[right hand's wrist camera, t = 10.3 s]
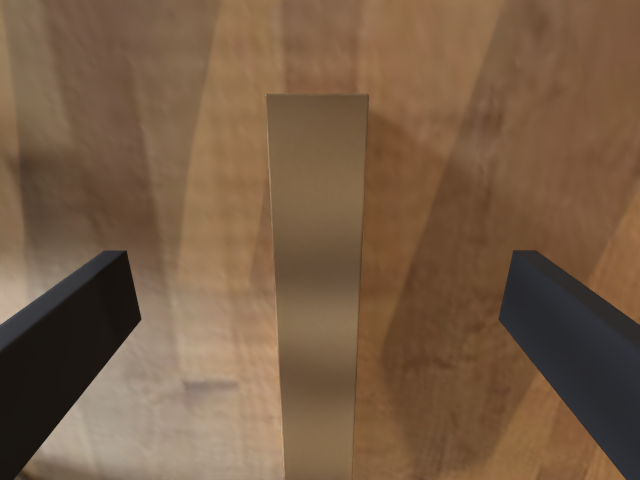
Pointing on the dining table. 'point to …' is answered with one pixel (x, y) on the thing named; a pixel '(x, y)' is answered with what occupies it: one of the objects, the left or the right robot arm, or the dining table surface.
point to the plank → (317, 273)
